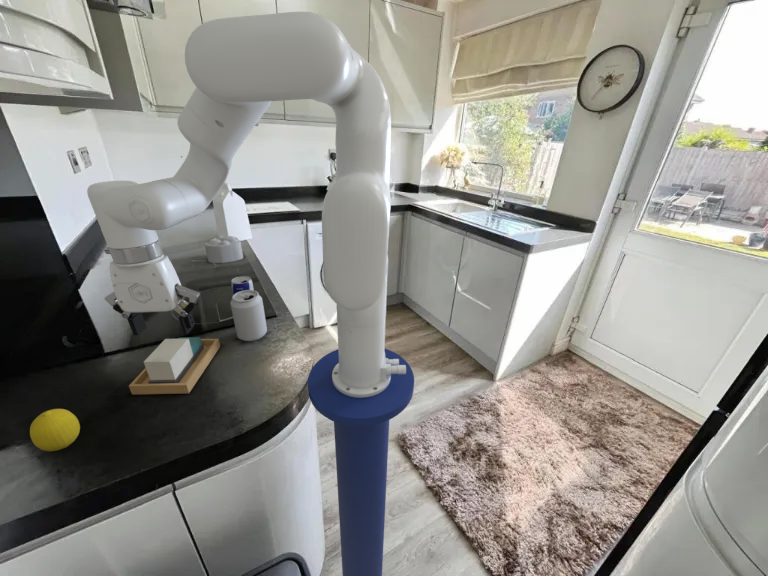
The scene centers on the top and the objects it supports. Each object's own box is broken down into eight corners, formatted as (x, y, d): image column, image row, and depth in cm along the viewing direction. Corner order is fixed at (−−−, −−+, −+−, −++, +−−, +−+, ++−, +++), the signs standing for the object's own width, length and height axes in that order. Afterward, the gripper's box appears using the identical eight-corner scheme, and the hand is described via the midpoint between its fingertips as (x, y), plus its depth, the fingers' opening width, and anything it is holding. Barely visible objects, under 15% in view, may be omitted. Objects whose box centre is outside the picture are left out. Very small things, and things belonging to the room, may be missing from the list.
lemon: (56, 466, 51) (34, 431, 48) (35, 454, 53) (12, 420, 50) (94, 438, 56) (76, 404, 53) (74, 429, 58) (55, 395, 54)
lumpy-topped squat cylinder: (244, 259, 134) (241, 239, 131) (210, 265, 128) (205, 244, 124) (238, 252, 142) (235, 232, 138) (206, 257, 135) (201, 237, 131)
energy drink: (246, 324, 90) (239, 285, 85) (234, 318, 92) (226, 280, 87) (261, 315, 94) (255, 278, 89) (249, 310, 97) (243, 274, 91)
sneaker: (176, 386, 67) (169, 363, 64) (149, 386, 67) (140, 363, 64) (204, 348, 79) (198, 327, 76) (181, 348, 78) (174, 327, 76)
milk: (252, 238, 160) (244, 183, 149) (229, 243, 152) (218, 186, 141) (240, 233, 167) (231, 181, 156) (218, 237, 159) (207, 183, 148)
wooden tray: (220, 346, 81) (218, 338, 80) (189, 393, 66) (186, 384, 65) (174, 346, 80) (171, 339, 79) (132, 394, 65) (128, 385, 64)
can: (255, 345, 81) (247, 304, 76) (230, 339, 83) (221, 298, 78) (273, 330, 88) (267, 290, 82) (250, 324, 90) (243, 286, 85)
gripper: (71, 260, 55) (108, 343, 63) (175, 258, 56) (200, 340, 63) (103, 246, 62) (133, 322, 69) (195, 245, 63) (215, 320, 70)
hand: (165, 331), depth 66 cm, fingers open, 9 cm apart
